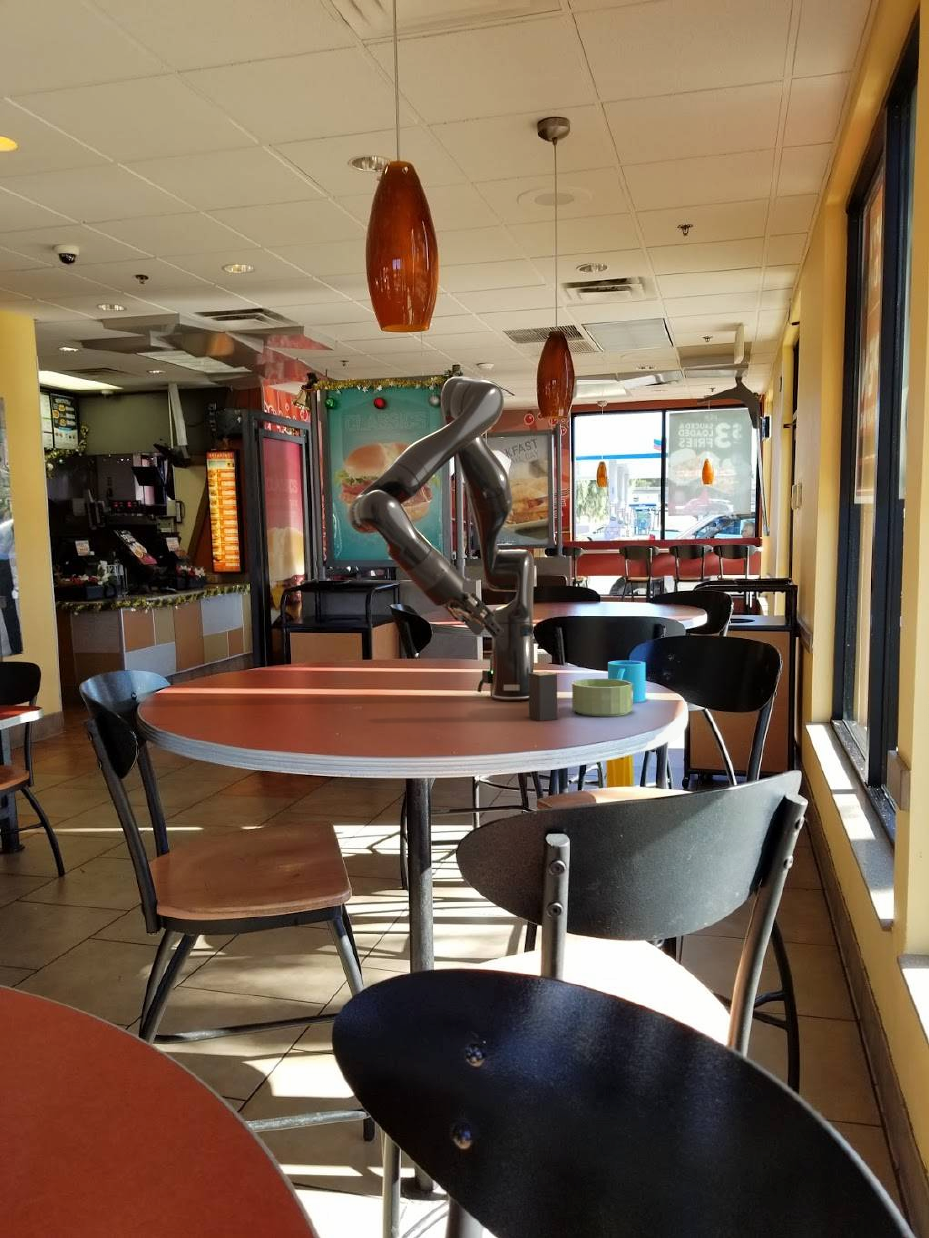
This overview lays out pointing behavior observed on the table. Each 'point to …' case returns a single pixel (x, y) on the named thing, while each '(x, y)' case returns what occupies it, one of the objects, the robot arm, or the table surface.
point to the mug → (630, 676)
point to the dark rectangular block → (543, 696)
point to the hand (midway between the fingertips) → (490, 633)
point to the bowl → (602, 697)
